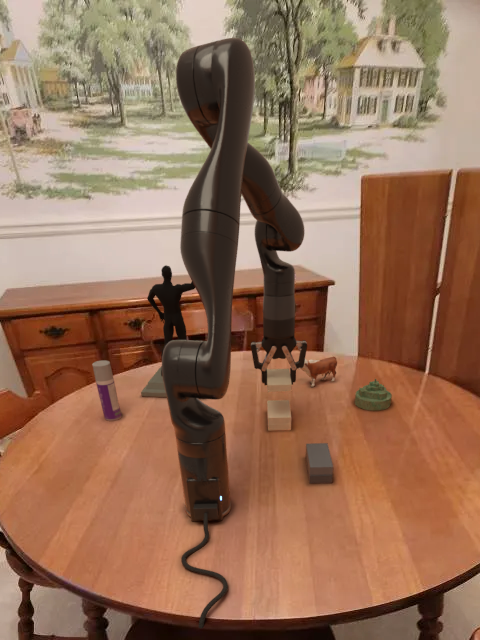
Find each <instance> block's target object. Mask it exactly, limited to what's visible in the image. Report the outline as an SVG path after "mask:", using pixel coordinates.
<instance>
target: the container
mask: <svg viewBox="0 0 480 640" xmlns="http://www.w3.org/2000/svg"><path fill="white" fill-rule="evenodd" d="M91 365H92V369H93V375H94V379H95V384H96V389H97V392H98V397H99V401H100V405H101V410H102V413H103V418H104V420H105V421H108V422H114V421H118V420H120V419H121V418H122V412H121V406H120V402H119V397H118V393H117V388H116V383H115V378H114V375H113V370H112V366H111V362H110V361H109V360H105V359H104V360H103V359H102V360H97V361H94V362H93V363H92V364H91Z"/></svg>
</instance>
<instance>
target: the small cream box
mask: <svg viewBox="0 0 480 640" xmlns="http://www.w3.org/2000/svg"><path fill="white" fill-rule="evenodd" d="M266 408H267V409H266V413H267V414H266V415H267V431H270V432H271V431H292V412H291V403H290V400H289V399H277V400H275V399H274V400H273V399H271V400H270V399H269V400H266Z"/></svg>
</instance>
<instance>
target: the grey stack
mask: <svg viewBox="0 0 480 640" xmlns="http://www.w3.org/2000/svg"><path fill="white" fill-rule="evenodd" d="M304 456H305V457H304V459H305V465H306V471H307V472H306V473H307V477H308V484H310V485H311V484H332V483H333V478H334V477H333V476H334V464H333V460H332V456H331V451H330V448H329V444H328V443H327V442H319V443H317V442H316V443H315V442H314V443H312V442H311V443H305V455H304Z"/></svg>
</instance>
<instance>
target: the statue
mask: <svg viewBox="0 0 480 640" xmlns="http://www.w3.org/2000/svg"><path fill="white" fill-rule="evenodd" d="M161 277H162V278H163V281H162V283H155V284H153V286H151V288H150V289H149V292H148V295H147V297H146V298H147V299H146V300H147V301H148V302H149V304H150V305H151V307H152V308H153V309H154V310H155V311H156V312H157V315H158V316H159V320H160V323H162V324H163V327H162V331H163V332H162V333H163V338H164V345H163V348H162V350H161V354H160V355H161V360H162V355H163V351H164V348H165V346H166V345H167V343H168V342H170V341H172V340H174V339H173V338H174V334H175V335H176V337H177V340H187V326H186V323H185V320H184V319H185V318H184V316H183V313H182V309H181V306H180V302H181V299H182V295H183V293H187V292H190V291H193V290H196V288H195V286H194V284H193V282H192V281H191V282H186V283H182V284H180V283H176V284H175V285H174V284H173V282H172V277H173V272H172V268H171V266H170V265H167V264H165V265H164V266H162V268H161ZM155 297H156V298H157V299H158V301H159V302H160V304H161V305H162V307H163V311H161V309H160V308H159V307H158V305H157V303H156V300H155ZM140 394H141V397H145V398H146V397H147V398H167V397H166V392H165V387H164V382H163V375H162V365H161V366H160V367H159V368H158V370H157V371H155V373H154V374H153V375H152V377H150V379H149V380H148V382H147V384H146V385H145V387H143V389H142V390H141V391H140Z"/></svg>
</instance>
